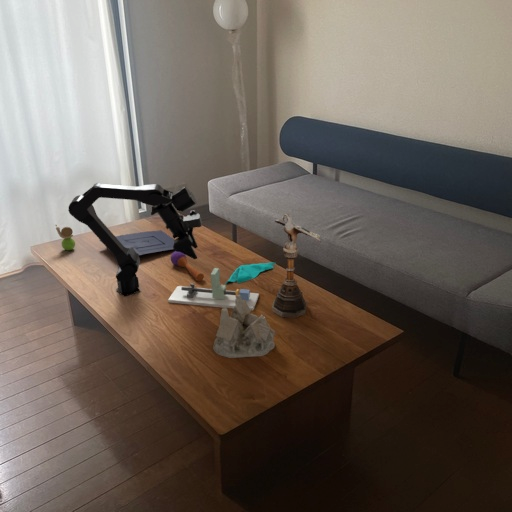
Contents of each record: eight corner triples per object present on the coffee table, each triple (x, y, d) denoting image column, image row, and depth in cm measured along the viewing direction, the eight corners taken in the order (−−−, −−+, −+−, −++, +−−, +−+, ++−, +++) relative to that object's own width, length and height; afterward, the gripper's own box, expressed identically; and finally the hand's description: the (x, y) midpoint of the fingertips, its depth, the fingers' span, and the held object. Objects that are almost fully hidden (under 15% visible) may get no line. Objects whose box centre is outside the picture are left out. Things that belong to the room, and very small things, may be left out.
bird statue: (296, 290, 184) (299, 197, 169) (323, 304, 175) (328, 207, 160) (261, 306, 174) (261, 209, 159) (288, 321, 165) (290, 220, 150)
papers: (97, 245, 219) (97, 236, 218) (160, 235, 237) (160, 228, 236) (121, 264, 202) (121, 256, 200) (187, 253, 219) (187, 245, 218)
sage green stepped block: (211, 299, 176) (210, 274, 172) (215, 292, 181) (214, 267, 176) (223, 300, 176) (222, 275, 171) (226, 293, 180) (225, 268, 176)
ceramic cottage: (205, 346, 154) (206, 303, 147) (245, 326, 164) (248, 285, 158) (241, 372, 144) (244, 327, 137) (280, 349, 155) (285, 306, 148)
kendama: (191, 274, 188) (166, 252, 202) (194, 287, 191) (169, 264, 205) (205, 267, 190) (179, 245, 204) (208, 280, 194) (182, 258, 208)
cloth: (269, 259, 209) (269, 254, 208) (288, 272, 198) (288, 267, 197) (211, 274, 197) (211, 269, 196) (228, 289, 186) (228, 284, 185)
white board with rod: (168, 302, 177) (167, 290, 175) (177, 288, 186) (177, 277, 184) (253, 310, 172) (253, 298, 170) (258, 295, 181) (258, 284, 179)
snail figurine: (59, 248, 218) (54, 222, 213) (75, 246, 221) (70, 220, 216) (61, 253, 214) (55, 227, 209) (76, 251, 216) (72, 224, 211)
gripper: (190, 216, 165) (216, 253, 171) (192, 197, 182) (215, 231, 188) (161, 232, 167) (188, 269, 173) (165, 212, 183) (189, 246, 190)
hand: (196, 253), depth 181 cm, fingers open, 9 cm apart
